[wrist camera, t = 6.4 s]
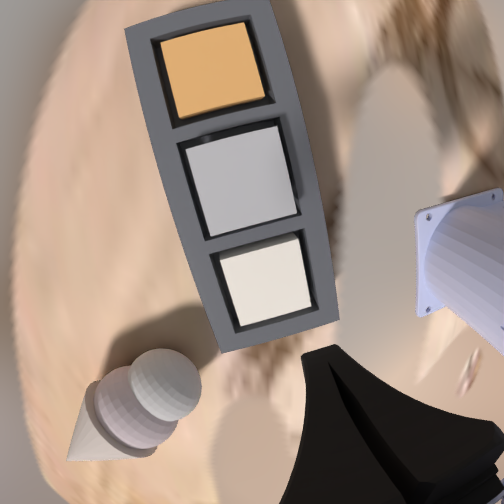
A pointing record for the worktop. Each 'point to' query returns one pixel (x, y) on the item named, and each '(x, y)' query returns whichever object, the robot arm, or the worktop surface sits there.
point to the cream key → (266, 278)
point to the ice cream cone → (135, 407)
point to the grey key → (242, 180)
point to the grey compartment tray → (220, 127)
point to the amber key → (212, 70)
